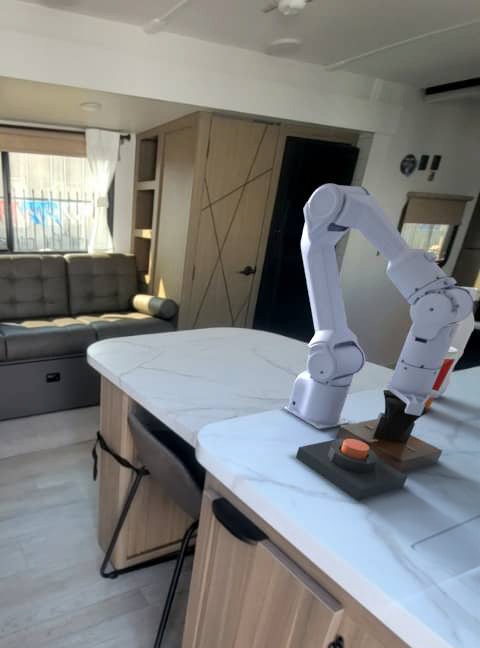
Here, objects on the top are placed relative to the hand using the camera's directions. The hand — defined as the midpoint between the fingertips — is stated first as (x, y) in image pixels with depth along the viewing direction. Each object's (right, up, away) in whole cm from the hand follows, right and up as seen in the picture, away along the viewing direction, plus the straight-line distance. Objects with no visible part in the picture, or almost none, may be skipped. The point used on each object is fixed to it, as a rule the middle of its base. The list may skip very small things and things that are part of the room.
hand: (390, 434), depth 72 cm
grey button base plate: (-11, -6, -5) cm, 14 cm away
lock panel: (0, -3, +1) cm, 3 cm away
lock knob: (0, -1, 0) cm, 1 cm away
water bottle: (+26, +8, +25) cm, 37 cm away
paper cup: (+18, +5, +19) cm, 27 cm away
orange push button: (-11, -3, -7) cm, 13 cm away
